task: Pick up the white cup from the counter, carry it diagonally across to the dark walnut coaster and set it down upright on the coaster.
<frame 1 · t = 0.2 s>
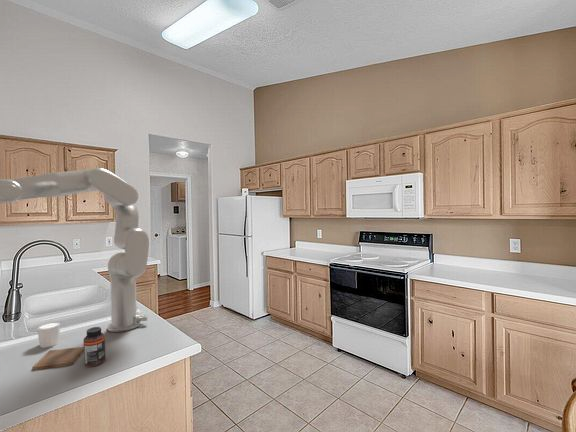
coaster: (60, 358, 101), on the counter
white cup: (49, 344, 112), on the counter
supplement bottle: (95, 363, 98), on the counter
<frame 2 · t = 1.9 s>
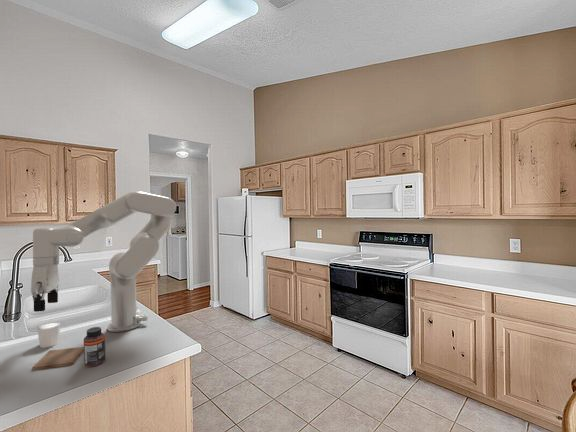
hand: (46, 306, 111), 14 cm above the counter, tool pointing down, fingers open, 9 cm apart
nothing on the counter moved.
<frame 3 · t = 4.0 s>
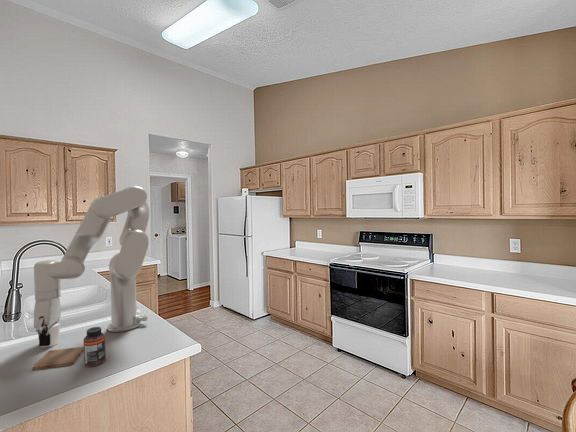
hand: (49, 340, 112), 1 cm above the counter, tool pointing down, fingers closed on white cup, 6 cm apart
white cup: (49, 344, 112), on the counter, touching gripper
everything else where it was.
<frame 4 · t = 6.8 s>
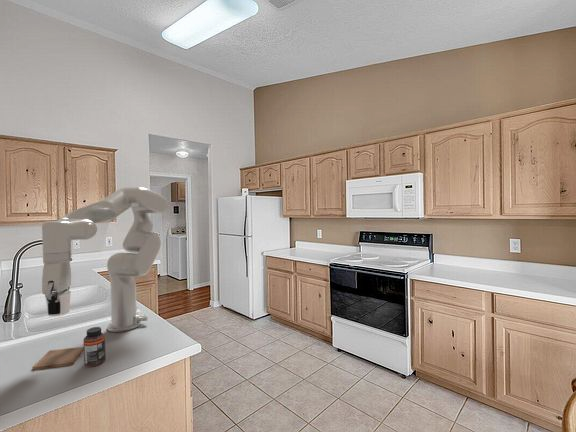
hand: (59, 310, 100), 17 cm above the counter, tool pointing down, fingers closed on white cup, 6 cm apart
white cup: (58, 313, 100), point 15 cm above the counter, touching gripper
everything else where it was.
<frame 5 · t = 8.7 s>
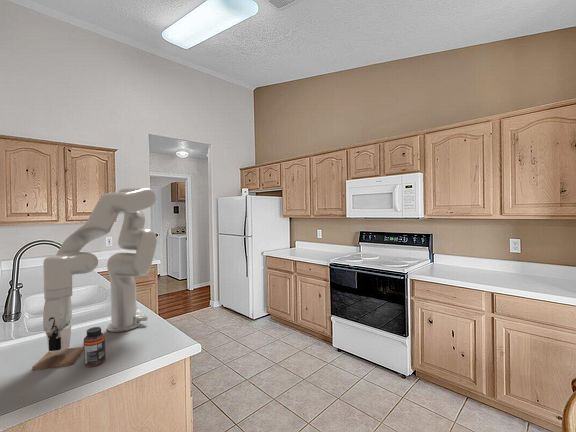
hand: (59, 345, 100), 5 cm above the counter, tool pointing down, fingers closed on white cup, 6 cm apart
white cup: (59, 348, 100), point 4 cm above the counter, touching gripper
everything else where it was.
when the fingers open (3 cm above the counter, at t = 10.1 s): white cup stays where it is, resting on coaster.
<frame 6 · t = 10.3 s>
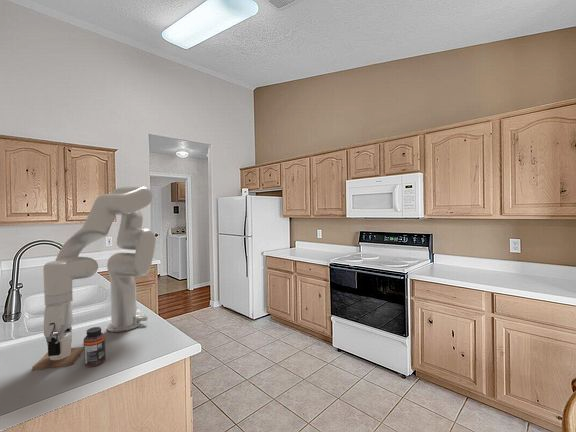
hand: (60, 348, 101), 4 cm above the counter, tool pointing down, fingers open, 8 cm apart
white cup: (60, 356, 100), point 1 cm above the counter, touching coaster
everything else where it was.
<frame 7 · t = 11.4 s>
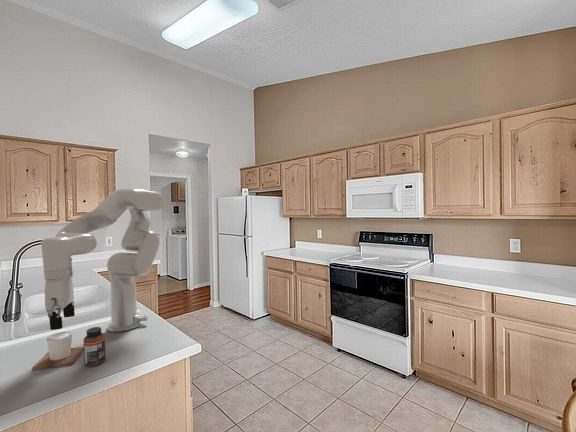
hand: (63, 322, 101), 12 cm above the counter, tool pointing down, fingers open, 9 cm apart
nothing on the counter moved.
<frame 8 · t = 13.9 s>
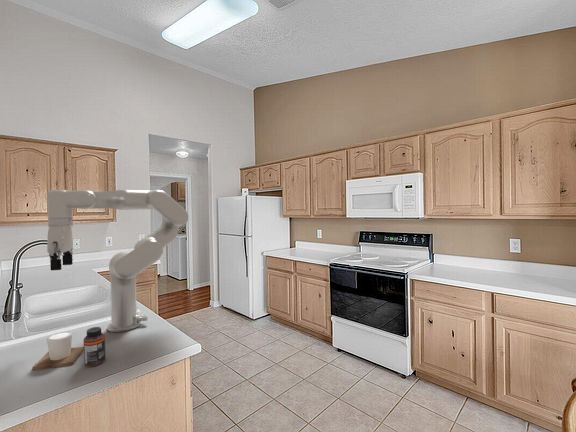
hand: (62, 267, 114), 28 cm above the counter, tool pointing down, fingers open, 9 cm apart
nothing on the counter moved.
at the end: white cup inside the target area on the coaster (0.2 cm from its centre), point 0.9 cm above the coaster's base; white cup tilted 0°; the gripper is holding nothing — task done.
